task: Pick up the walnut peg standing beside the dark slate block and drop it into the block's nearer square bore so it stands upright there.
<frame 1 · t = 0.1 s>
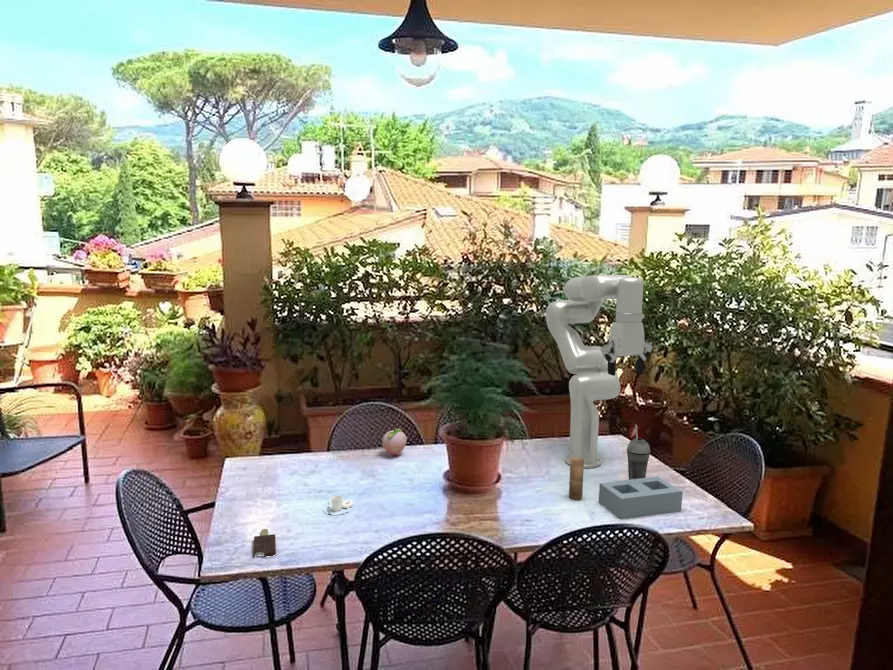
hand: (625, 373, 204), 37 cm above the table, tool pointing down, fingers open, 9 cm apart
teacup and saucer: (346, 513, 191), on the table
ice cream bar: (264, 546, 171), on the table
decorative fruit: (393, 455, 238), on the table
walnut peg: (575, 497, 202), on the table
bore block: (639, 506, 196), on the table
beverage cup: (636, 486, 212), on the table
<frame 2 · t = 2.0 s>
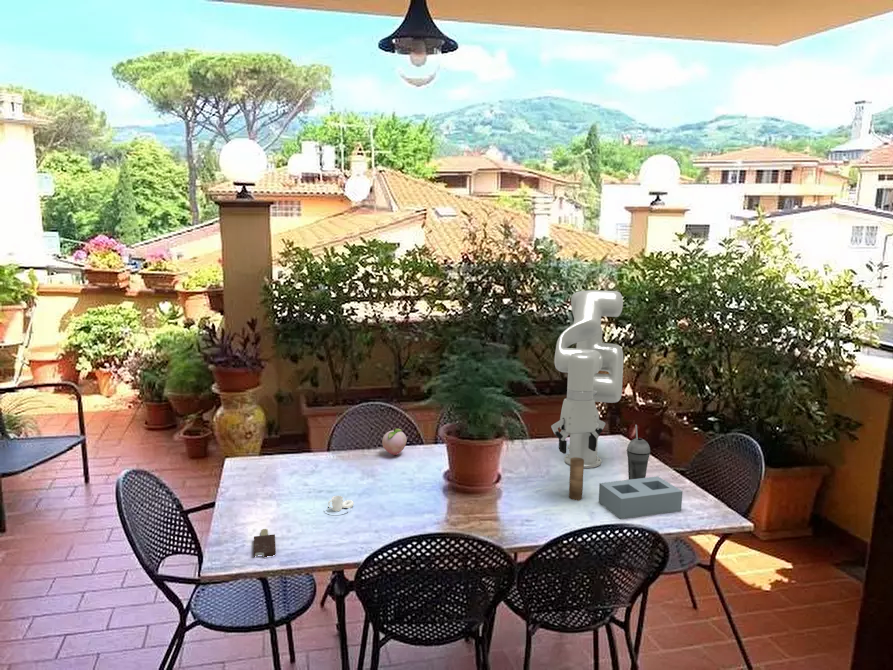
hand: (577, 451, 199), 15 cm above the table, tool pointing down, fingers open, 9 cm apart
nothing on the table moved.
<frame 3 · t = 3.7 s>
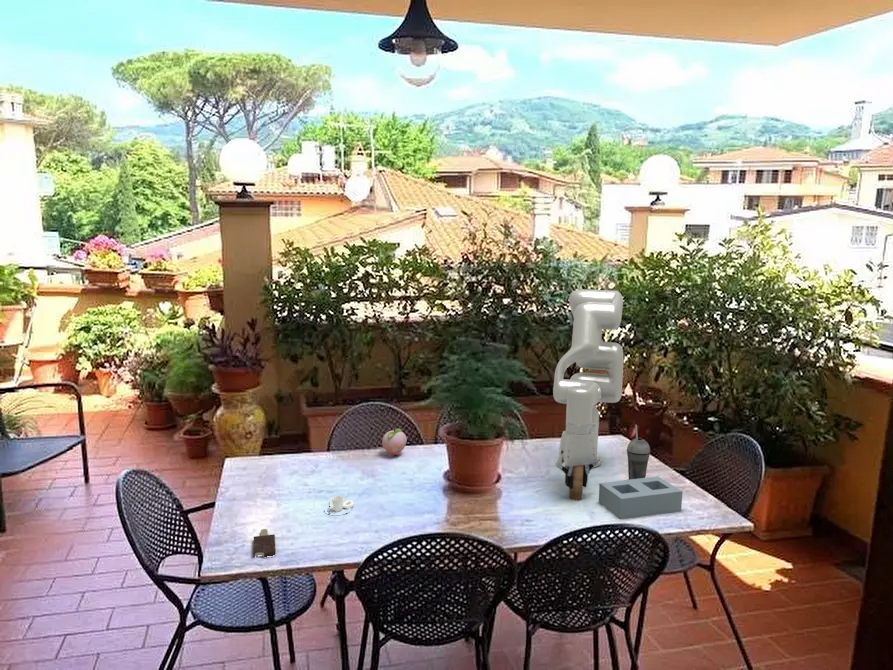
hand: (576, 485, 202), 4 cm above the table, tool pointing down, fingers closed on walnut peg, 4 cm apart
walnut peg: (575, 497, 202), on the table, touching gripper
everything else where it was.
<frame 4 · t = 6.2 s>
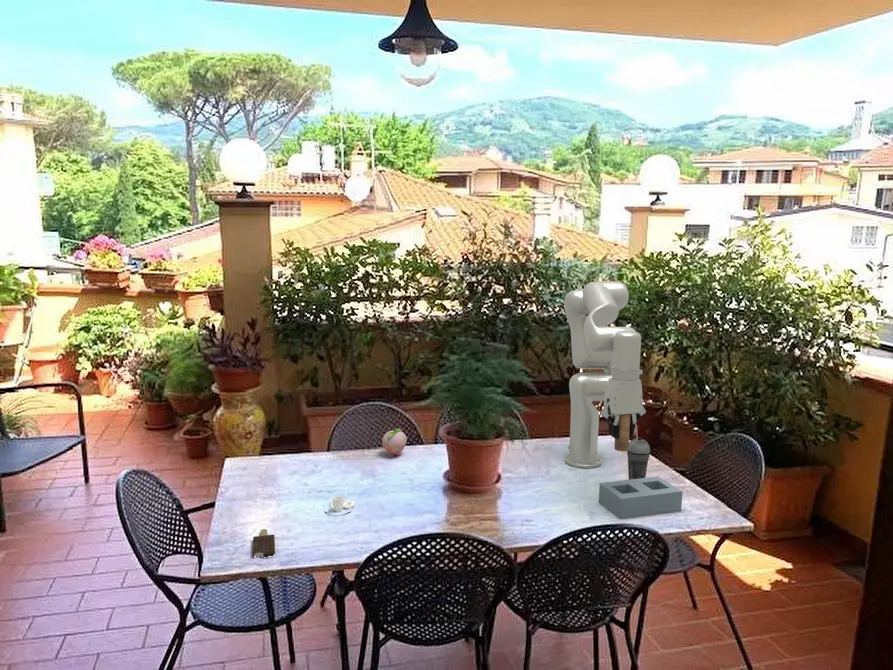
hand: (622, 436, 192), 22 cm above the table, tool pointing down, fingers closed on walnut peg, 4 cm apart
walnut peg: (621, 449, 193), point 18 cm above the table, touching gripper
everything else where it was.
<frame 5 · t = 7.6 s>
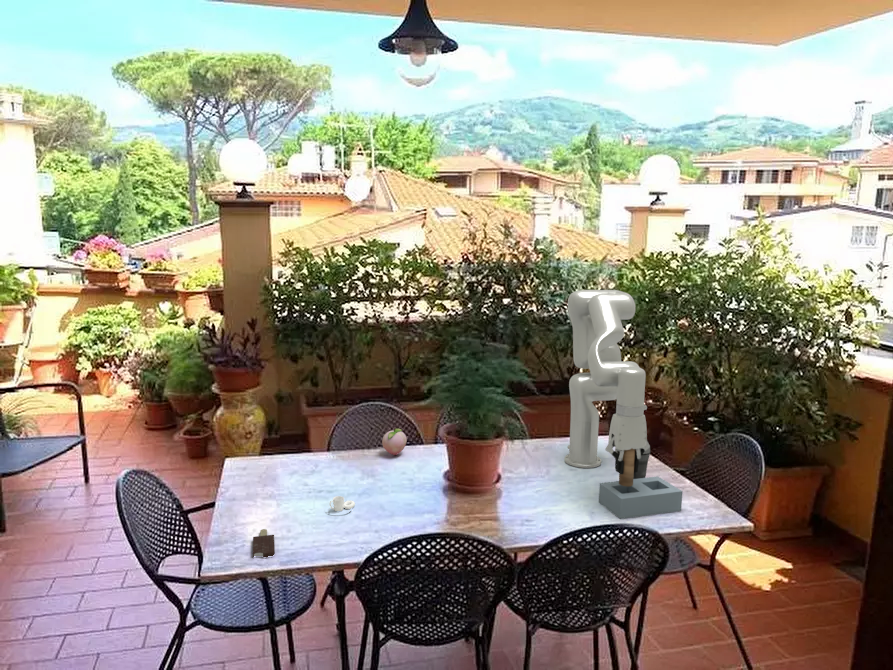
hand: (626, 471, 193), 11 cm above the table, tool pointing down, fingers closed on walnut peg, 4 cm apart
walnut peg: (625, 483, 194), point 8 cm above the table, touching gripper
everything else where it was.
when the fingers open (7 cm above the table, at t = 8.8 s): walnut peg drops 2 cm, resting on bore block.
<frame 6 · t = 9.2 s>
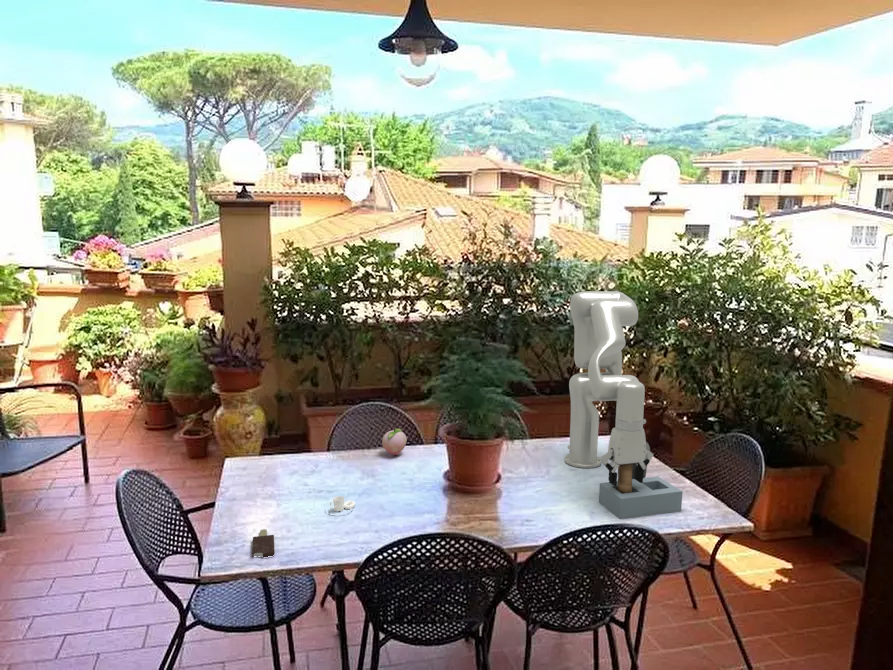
hand: (625, 482, 194), 8 cm above the table, tool pointing down, fingers open, 8 cm apart
walnut peg: (624, 503, 195), point 2 cm above the table, touching bore block
everything else where it was.
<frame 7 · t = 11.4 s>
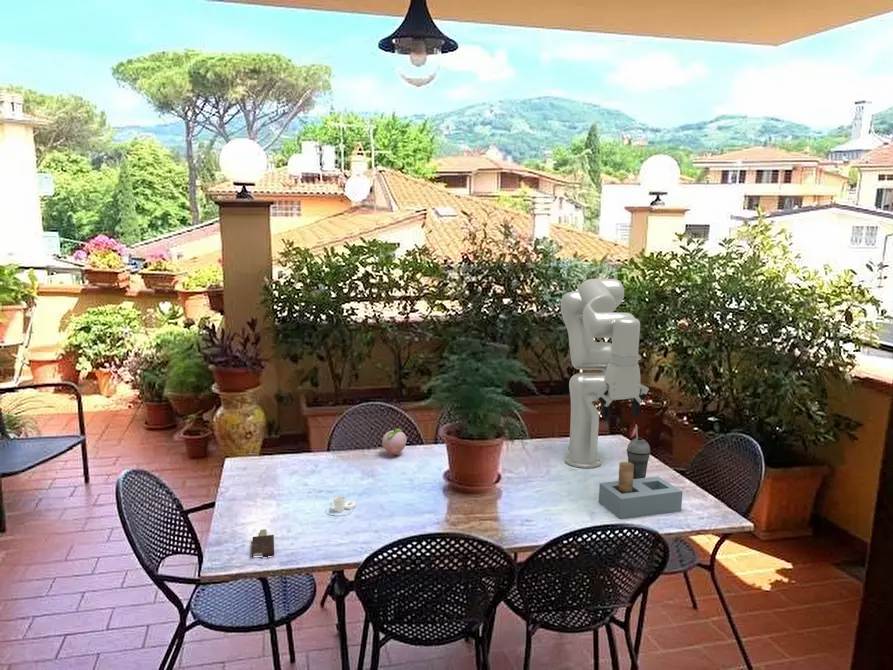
hand: (620, 416, 196), 26 cm above the table, tool pointing down, fingers open, 9 cm apart
nothing on the table moved.
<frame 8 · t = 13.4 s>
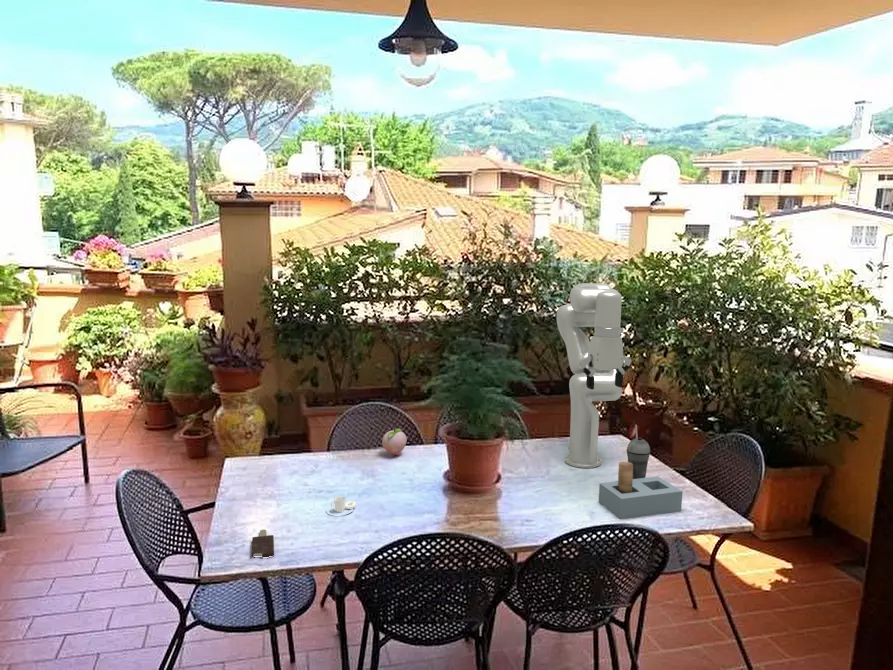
hand: (604, 387, 205), 32 cm above the table, tool pointing down, fingers open, 9 cm apart
at the end: walnut peg 0.1 cm from the target spot on the bore block, point 1.5 cm above the bore block's base; walnut peg tilted 1°; the gripper is holding nothing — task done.
